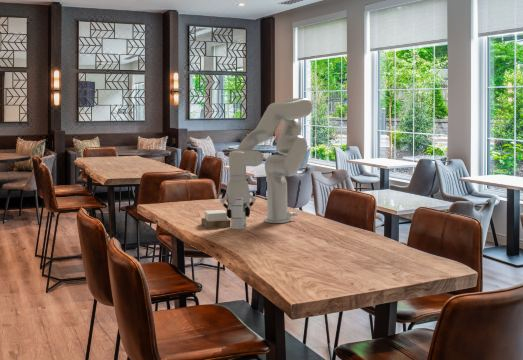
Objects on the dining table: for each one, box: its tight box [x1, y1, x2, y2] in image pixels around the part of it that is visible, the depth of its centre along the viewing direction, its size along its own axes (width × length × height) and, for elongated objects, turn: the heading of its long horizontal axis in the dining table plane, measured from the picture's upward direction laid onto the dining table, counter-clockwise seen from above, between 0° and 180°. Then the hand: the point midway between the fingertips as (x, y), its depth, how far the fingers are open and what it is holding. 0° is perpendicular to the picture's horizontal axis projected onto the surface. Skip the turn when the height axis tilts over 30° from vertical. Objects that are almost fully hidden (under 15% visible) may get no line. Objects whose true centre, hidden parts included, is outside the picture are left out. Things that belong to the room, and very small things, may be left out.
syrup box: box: [230, 197, 247, 230], centre depth 284 cm, size 6×6×14 cm
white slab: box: [204, 209, 228, 221], centre depth 291 cm, size 9×9×4 cm
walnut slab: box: [201, 217, 231, 229], centre depth 291 cm, size 11×11×4 cm
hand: (238, 217), depth 284 cm, fingers closed on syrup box, 7 cm apart
